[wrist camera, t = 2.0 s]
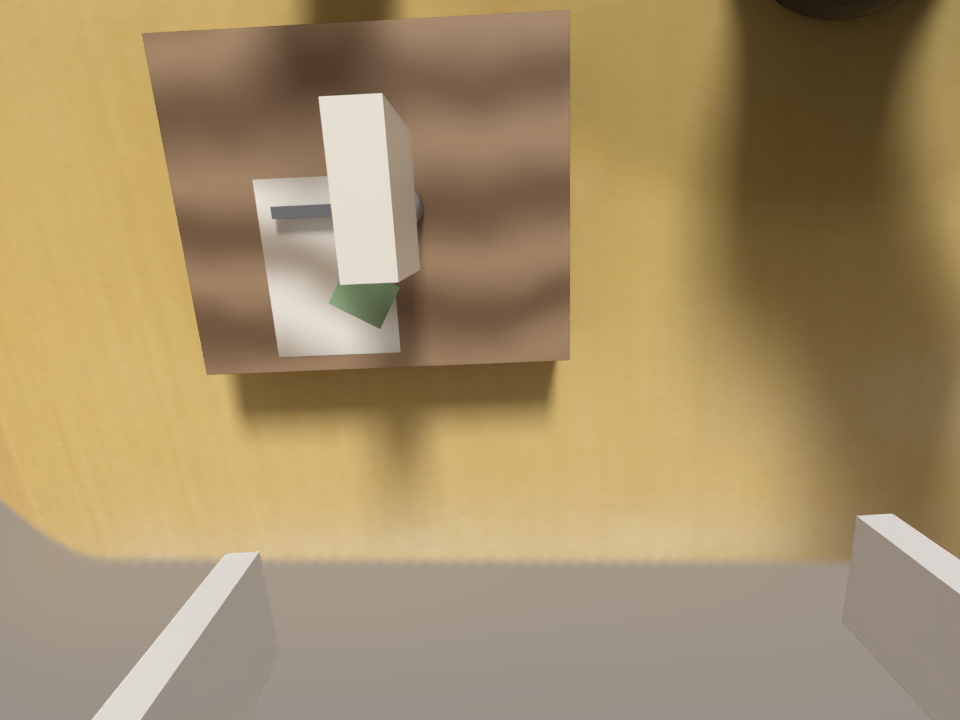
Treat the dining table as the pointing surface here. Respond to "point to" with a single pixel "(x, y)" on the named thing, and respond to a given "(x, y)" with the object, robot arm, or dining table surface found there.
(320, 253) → the wooden box with sign
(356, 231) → the white box with rod
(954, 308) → the dining table surface
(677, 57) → the dining table surface
